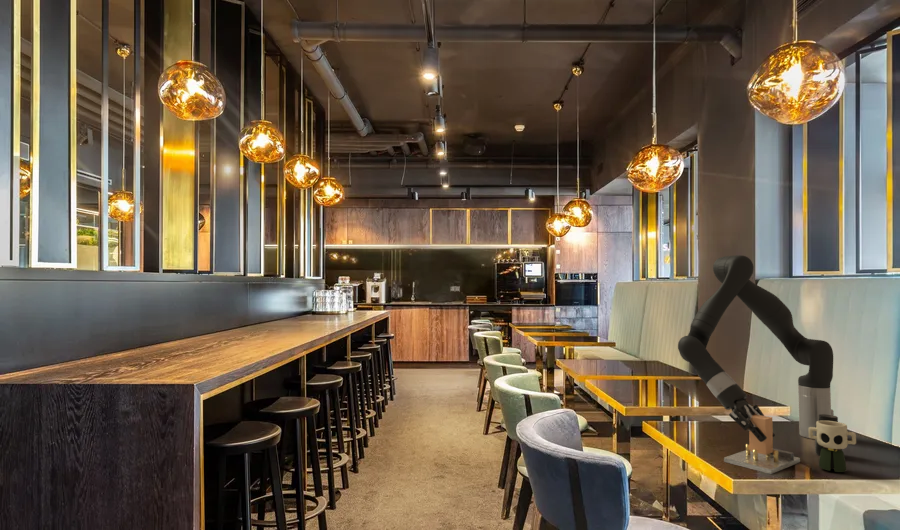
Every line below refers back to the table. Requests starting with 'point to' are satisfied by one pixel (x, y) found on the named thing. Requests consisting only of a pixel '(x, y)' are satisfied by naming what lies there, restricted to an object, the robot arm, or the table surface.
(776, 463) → the plate
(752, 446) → the block
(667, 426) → the table surface
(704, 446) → the table surface
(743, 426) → the robot arm
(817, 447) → the supplement bottle
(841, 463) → the character mug
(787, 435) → the table surface
